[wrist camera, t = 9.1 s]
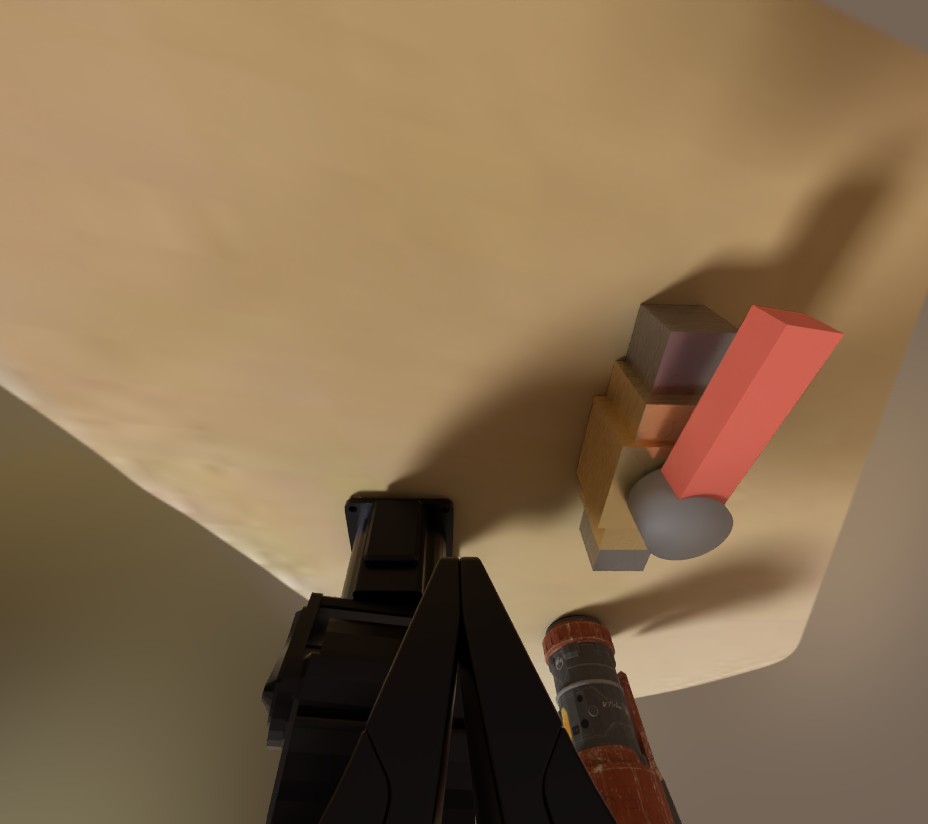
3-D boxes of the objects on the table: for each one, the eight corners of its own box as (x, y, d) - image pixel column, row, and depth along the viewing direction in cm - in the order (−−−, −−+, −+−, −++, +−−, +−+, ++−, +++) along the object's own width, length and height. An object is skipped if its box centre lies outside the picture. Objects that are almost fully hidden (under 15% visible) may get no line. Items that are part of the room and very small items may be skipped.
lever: (684, 525, 21) (707, 563, 19) (615, 518, 20) (632, 556, 19) (822, 316, 15) (874, 341, 13) (729, 300, 15) (769, 324, 13)
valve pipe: (641, 528, 28) (669, 587, 24) (562, 528, 28) (579, 587, 24) (727, 306, 20) (790, 345, 16) (617, 303, 19) (654, 342, 16)
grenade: (594, 660, 37) (668, 929, 25) (521, 638, 35) (561, 922, 22) (640, 627, 34) (749, 910, 22) (564, 601, 32) (637, 901, 20)
